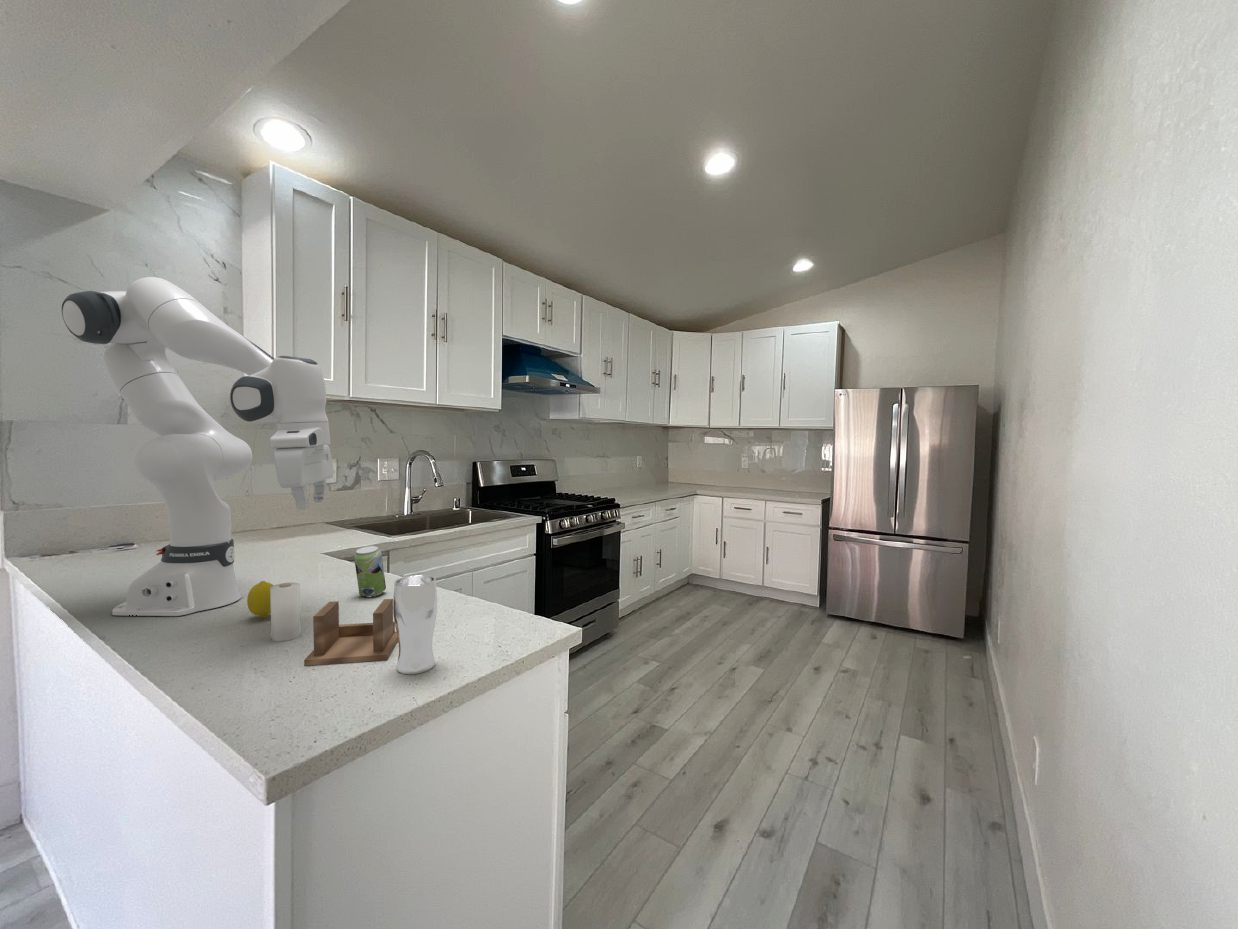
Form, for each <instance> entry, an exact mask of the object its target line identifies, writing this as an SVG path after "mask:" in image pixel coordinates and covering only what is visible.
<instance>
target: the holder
mask: <svg viewBox="0 0 1238 929" xmlns="http://www.w3.org/2000/svg"><path fill="white" fill-rule="evenodd" d="M339 606H340V604H339V600H337V601H329V602H327V603H326V604H325V605H324V606H323V607H322V608H321V609H319V611H317V612H316V613H315V614H314V615H313V616H312V617H313V619H312V621H313V622H312V623H313V626H312V627H313V650H312V651H311V652H310V653H309V654H308V655H307V656H306V657H305V658H304V659H303V664H304V665H303V666H319V665H321V666H323V665H336V664H350V663H351V664H352V663H362V662H363V663H364V662H365V663H367V662H380V661H388V659H389V658H390V656H391V654H392V652H393V650H394V649H395V646H396V645H397V644H398V643H399V642H398V636H397V632H396V627H395V621H394V613H393V598H385V599H383V600H382V601H381V603H379V605H378V606H377V607H376V609H375V610H374V611H373V612H372V622H365V623H364V622H363V623H346V624H340V611H339V610H340V607H339Z"/></svg>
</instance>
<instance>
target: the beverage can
mask: <svg viewBox="0 0 1238 929" xmlns="http://www.w3.org/2000/svg"><path fill="white" fill-rule="evenodd" d="M353 558H354V566H355V573H356V580H357V587H358V594H359V595H360V596H361V597H362V596H363V597H364V596H374V597H376V596H375V595H377V596H380V595H381V594H383V592H385V590H386V589H387V585H386V578H385V577H386V576H385V570H384V562H383V554H382V550H381V549H379V546H376V545H367V546H363V547H362V546H361V547H360V548H358V549H356V551H355V554H354V557H353Z"/></svg>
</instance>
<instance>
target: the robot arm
mask: <svg viewBox="0 0 1238 929" xmlns="http://www.w3.org/2000/svg"><path fill="white" fill-rule="evenodd" d="M61 316H62V319H63V322H64V324H65V326H66V329H67V330H68V331H69V332H70V333H71V334H72V335H73V336H74V337H75V338H76V339H78V340H80V341H81V342H85V343H88V344H89V343H90V344H97V345H108V344H110V345H108V346H106V348H105V350H104V351H103V352H104V353H103V361H104V364H105V367H106V369H107V372H108V373H109V376H110V378H111V380H112V382H113V384H114V386H115V387H116V389H117V391H118V392H119V394H120V396H121V398H123V399H124V401H125V403H126V404H127V406H128V407H129V409H130V410H131V412H132V413H133V415H134V416H135V418H136V420H137V421H138V423H139V424H141V425H142V426H143V427H144V428H145V429H147V430H149V431H152V432H154V433H155V434H157V435H159V436H156V437H152V438H148V439H146V440H145V441H143V442H141V444H140V445H138V447H137V449H136V451H135V455H134V466H135V468H136V470H137V472H138V473H139V475H141V476H142V478H144V480H146V481H148V482H150V483H151V484H152V486H154V487H155V488H156V489H157V491H158V493H159V494H160V495H161V498H162V500H163V502H164V506H165V507H166V512H167V516H168V518H167V519H168V520H167V521H168V532H169V533H168V534H169V535H168V536H169V544H168V545H165V546H164V547H162V548H160V549H157V550H156V554H155V555H156V556H159V555H161V559H160V562H158V563H157V564H156V565H154V566H152V567H151V568H150V569H148V570H147V571H146V572H144V573H143V574H141V575H139V576H138V577H137V578H135V579H134V580H133V581H132V582H131V583H130V585H129V586H128V590H127V593H126V600H125V601H124V602H122V603H119V604H118V605H116V606H114V607H113V609H112V613H111V615H112V616H129V615H130V617H131V616H132V615H133V617H134V616H136V615H137V617H138V616H140V617H141V616H143V617H144V616H145V617H146V616H147V617H150V616H151V617H152V616H153V617H155V616H156V617H157V616H158V617H180V616H184V615H190V614H193V613H197V612H201V611H207V610H211V609H215V608H219V607H223V606H227V605H230V604H233V603H234V602H237V601H239V600H240V599H241V598H242V594H241V592H240V589H239V586H238V583H237V578H236V572H235V567H234V566H235V565H234V563H235V541H234V539H233V538H232V515H231V514H232V513H231V512H232V510H231V507H230V505H229V504H228V503H227V502H226V501H224V500H222V499H221V498H220V497H219V495H218V494H217V491H216V488H215V486H214V485H215V484H214V481H222V480H228V479H232V478H234V477H236V476H240V475H241V474H243V473H245V472H246V471H247V470H248V469H249V468H250V467H251V465H252V463H253V451H252V449H251V446H250V445H249V444H248V443H247V442H246V441H244V440H243V439H242V438H239V437H237V436H235V435H234V434H233V433H231V432H230V431H228V430H227V429H226V428H224V427H223V426H222V425H221V424H220V423H219V422H217V421H216V419H214V418H213V417H212V416H211V415H210V414H209V413H207V411H205V410H204V408H203V407H202V406H201V405H200V403H198V402H197V400H196V399H195V397H194V396H193V394H192V393H191V392H190V391H189V388H187V386H186V384H185V382H184V381H183V380H182V378H181V376H180V375H179V374H178V373H177V371H176V370H175V368H174V367H173V365H172V364H171V363H170V361H169V359H168V358H167V354H166V348H167V349H168V350H169V351H171V352H173V353H174V354H176V355H177V356H180V357H182V358H185V359H189V360H193V361H197V362H201V363H202V362H203V363H207V364H213V365H218V366H223V367H225V368H230V369H233V370H237V371H239V372H241V373H244V374H245V375H244V376H242V377H239V378H238V379H237V380H236V381H235V382H234V383H233V384H232V387H231V389H230V393H229V400H230V401H229V402H230V404H231V408H232V410H233V411H234V413H235V414H236V415H237V417H239V418H240V419H242V421H245V422H249V423H255V424H277V430H276V431H275V433H273V435H271V437H270V438H269V444H270V448H271V449H273V450H274V454H273V457H274V458H273V460H274V466H275V472H276V478H277V481H278V484H279V485H280V487H281V488H282V489H290V491H291V495H292V497H293V498H294V502H295V507H296V509H297V510H299V511H301V510H306V509H308V508H310V501H309V498H307V494H306V491H307V486H309V485H312V484H313V487H314V488H313V492H314V493H313V494H312V495H313V496H312V498H313V502H314V503H323V502H324V501H326V495H325V494H326V489H327V480H329V479H332V478H333V476H334V465H333V458H332V452H331V449H330V445H331V444H332V443H331V434H330V432H331V431H330V422H329V418H328V416H327V413H326V405H327V392H326V383H325V379H324V374H323V370H322V368H321V367H320V366H321V365H320V364H319V363H318V362H316V361H315V360H314V359H311V358H303V357H297V356H289V355H278V356H276V357H273V356H272V355H271V354H269V353H268V352H267V351H265V350H264V349H263V348H261V347H259V345H257V344H256V343H254V342H252V341H251V340H249V339H248V338H246V337H244V336H243V335H242V334H241V333H239V332H237V331H236V330H235V329H233V328H232V327H230V326H229V325H227V324H226V323H225V321H223V320H221V319H220V318H218V316H216V315H215V313H214V314H213V312H211V311H210V310H209V309H208V308H206V306H204V305H203V304H202V303H200V301H198V300H197V298H195V297H194V296H192V295H191V294H189V293H188V292H187V291H186V290H184V289H182V288H181V287H179V286H178V285H176V284H175V283H172V282H171V281H169V280H167V279H165V278H162V277H158V276H146V277H145V276H144V277H141V278H138V279H136V280H134V281H133V282H131V284H129V285H128V287H127V289H126V290H112V291H111V290H109V291H108V290H106V291H94V290H84V291H80V292H79V291H78V292H74V293H70V294H68V295H67V296H66V298H64V300H63V302H62V303H61ZM141 476H140V477H141Z"/></svg>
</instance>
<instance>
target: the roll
mask: <svg viewBox="0 0 1238 929" xmlns="http://www.w3.org/2000/svg"><path fill="white" fill-rule="evenodd" d="M273 585H274V586H271V587H270V598H271V613H270V632H271V633H270V634H271V635H270V637H271V638H270V640H271V639H272V640H273V641H272V640H271V641H272V642H287V641H291V639H292V640H295V639H297V638H299V637H300V636H301V634H302V633H301V630H302V629H301V626H302V625H301V585H300V583H299V582H283V583H278V584H273ZM294 638H295V639H294Z"/></svg>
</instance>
